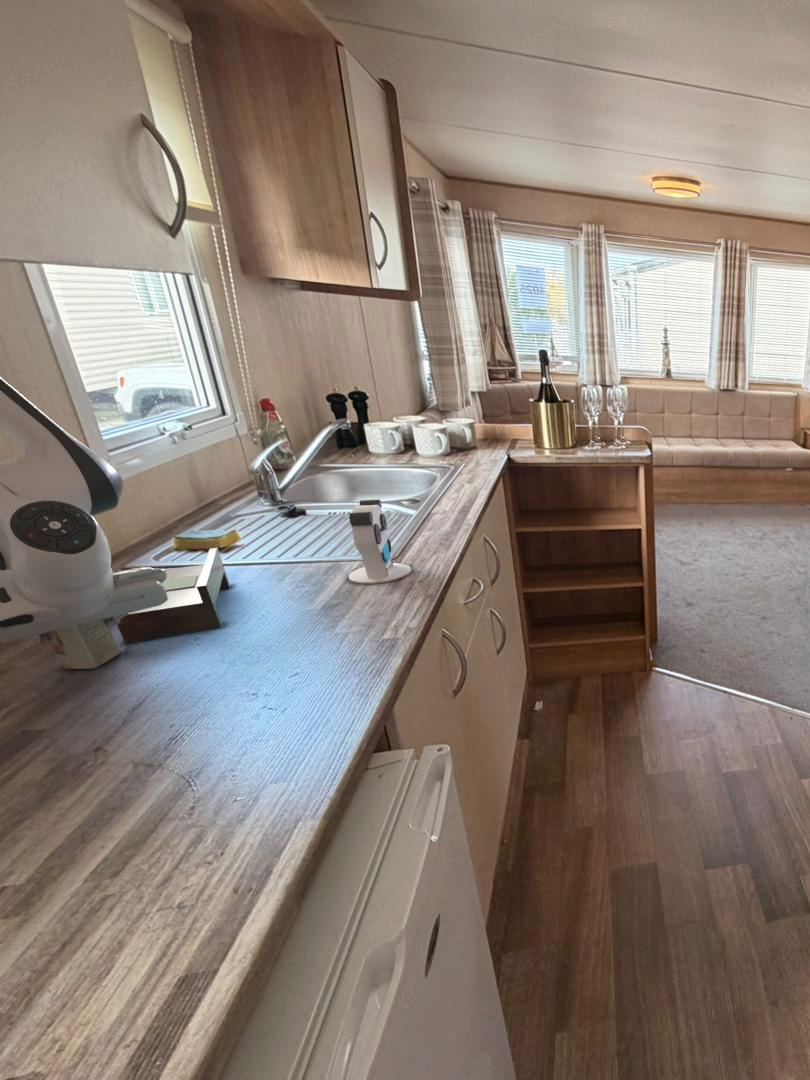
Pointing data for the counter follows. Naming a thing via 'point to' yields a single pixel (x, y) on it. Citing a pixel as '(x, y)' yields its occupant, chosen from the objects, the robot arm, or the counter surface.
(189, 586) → the shelf
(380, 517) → the panda figurine
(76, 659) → the cream cardboard box
